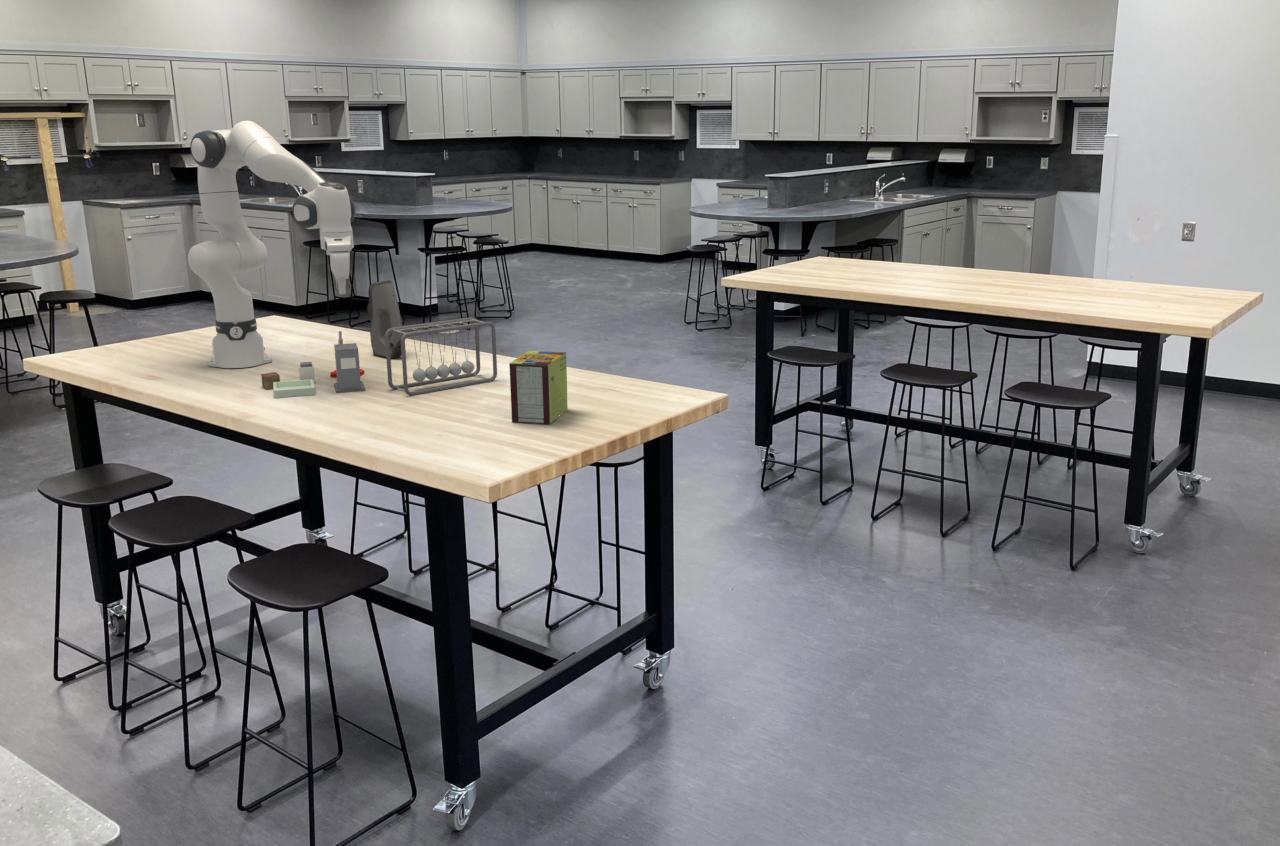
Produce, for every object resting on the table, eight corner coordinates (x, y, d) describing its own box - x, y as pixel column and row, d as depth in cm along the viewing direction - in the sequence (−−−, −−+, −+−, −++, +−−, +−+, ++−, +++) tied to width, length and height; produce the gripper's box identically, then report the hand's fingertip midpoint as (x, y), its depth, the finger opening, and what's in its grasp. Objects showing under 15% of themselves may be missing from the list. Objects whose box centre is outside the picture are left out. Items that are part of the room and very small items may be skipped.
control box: (333, 385, 304) (330, 344, 301) (362, 382, 306) (359, 342, 303) (336, 392, 295) (332, 350, 291) (365, 390, 297) (362, 348, 294)
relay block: (300, 382, 307) (298, 362, 306) (314, 381, 309) (312, 361, 307) (300, 385, 304) (298, 365, 302) (315, 384, 305) (313, 364, 303)
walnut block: (262, 387, 302) (261, 373, 301) (276, 385, 304) (275, 372, 303) (266, 390, 299) (265, 376, 297) (280, 388, 301) (279, 374, 300)
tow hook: (341, 371, 323) (326, 377, 313) (338, 326, 320) (324, 331, 310) (369, 372, 321) (355, 378, 312) (367, 327, 318) (353, 332, 309)
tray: (273, 389, 299) (273, 382, 298) (313, 386, 302) (312, 379, 302) (274, 398, 289) (273, 390, 289) (315, 394, 293) (314, 387, 292)
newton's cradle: (479, 374, 316) (476, 316, 312) (498, 380, 309) (495, 321, 304) (388, 390, 298) (383, 328, 293) (405, 397, 290) (401, 333, 285)
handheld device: (385, 352, 348) (380, 276, 341) (412, 358, 338) (407, 281, 331) (369, 354, 344) (363, 278, 337) (395, 361, 334) (390, 283, 327)
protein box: (568, 409, 277) (566, 351, 273) (550, 425, 262) (548, 364, 258) (530, 407, 279) (528, 350, 275) (510, 422, 265) (508, 362, 260)
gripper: (323, 239, 301) (327, 287, 305) (327, 246, 282) (331, 297, 286) (346, 238, 303) (350, 286, 307) (351, 245, 284) (355, 296, 288)
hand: (341, 291), depth 296 cm, fingers open, 8 cm apart
